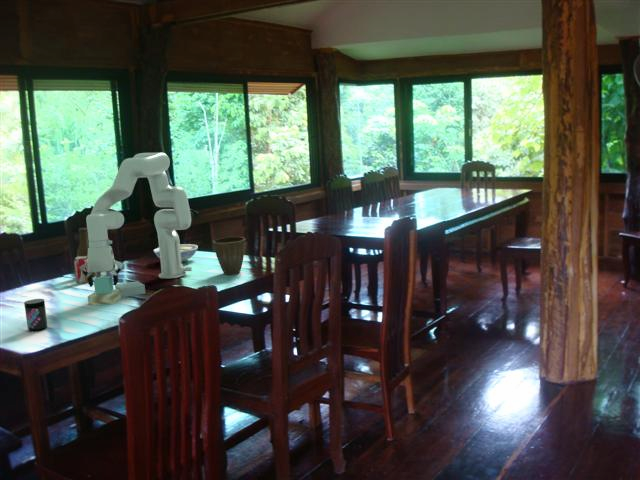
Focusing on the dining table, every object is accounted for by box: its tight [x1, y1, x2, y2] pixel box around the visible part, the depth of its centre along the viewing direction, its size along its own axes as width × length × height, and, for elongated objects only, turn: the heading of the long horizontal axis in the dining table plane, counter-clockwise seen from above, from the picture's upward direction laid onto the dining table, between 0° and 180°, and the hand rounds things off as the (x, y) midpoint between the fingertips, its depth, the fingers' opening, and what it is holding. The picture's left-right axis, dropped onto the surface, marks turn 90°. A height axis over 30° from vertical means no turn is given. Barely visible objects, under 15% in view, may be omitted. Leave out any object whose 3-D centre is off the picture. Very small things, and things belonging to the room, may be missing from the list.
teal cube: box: [93, 275, 115, 295], centre depth 280 cm, size 6×6×6 cm
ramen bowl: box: [153, 243, 199, 264], centre depth 354 cm, size 25×23×8 cm
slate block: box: [114, 280, 146, 298], centre depth 292 cm, size 10×10×4 cm
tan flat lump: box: [87, 289, 122, 306], centre depth 281 cm, size 10×10×4 cm
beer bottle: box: [76, 227, 97, 278], centre depth 329 cm, size 8×8×24 cm
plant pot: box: [212, 236, 246, 276], centre depth 318 cm, size 15×15×16 cm
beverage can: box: [73, 256, 89, 284], centre depth 318 cm, size 6×6×12 cm
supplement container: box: [23, 298, 48, 333], centre depth 245 cm, size 7×7×10 cm
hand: (103, 285), depth 280 cm, fingers open, 9 cm apart
